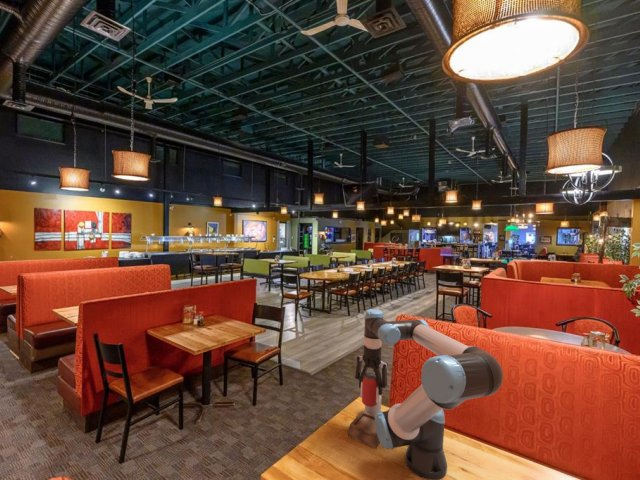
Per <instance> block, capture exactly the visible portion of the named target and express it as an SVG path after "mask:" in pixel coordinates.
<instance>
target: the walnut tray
mask: <svg viewBox="0 0 640 480" xmlns="http://www.w3.org/2000/svg"><path fill="white" fill-rule="evenodd" d="M348 438H351V439H353V440H355V441H358V442H360V443H362V444H364V445H366V446H369V447H371V448H373V449H375V450H378V448H380V445H381V443H380V441H379V439H378V436H377V432H376V427H375V416H374V415H372V414H369V413H366V412H365V410H362V411H361V412H359V414H358V415H357V416H356V417H355V418H354V419H353V420H352V421H351V422H350V423H349V426H348Z"/></svg>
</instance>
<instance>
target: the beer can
mask: <svg viewBox="0 0 640 480" xmlns="http://www.w3.org/2000/svg"><path fill="white" fill-rule="evenodd" d="M377 387H378V383H377V379H376V375H375V373H372V372H366V374H365V375H364V378H363V388H362V397H361V402H362V404H363V405H364V406H365V405H366V406H369V407H373V406H376V405H377V403H376V389H377Z"/></svg>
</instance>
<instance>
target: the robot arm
mask: <svg viewBox="0 0 640 480" xmlns="http://www.w3.org/2000/svg"><path fill="white" fill-rule="evenodd" d="M364 314H365V316H364V333H363V335H364V336H363V355H361V354H359V355H357V357H356V369H355V374H354V375H355V377H354V378H355V379H356V380H358V381H359V382H358V388H359V389H360V397H361V398H362V388H363V378H364V375H365V374H366V373H368V369H369V368H370V369H373V372H374V374H375V375H376V379H377V383H378V387H377V389H376V403H378V402H379V401H380V395H381V396H382V394H383V390H384V389H385V388H386V387H387V386H388V371H387V370H388V369H387V368H388V365H389V364H388V362H384V361H382V358H381V357H382V347H383V346H382V344H383V343H384V344H386V345H389V346H394V345H396V344H397V343H398V342H399V341H408V340H409V341H410V340H412V341H414V342H415V343H417V344H418V345H421V346H422V347H424V348H425V349H427V350H428V351H430V352H431V353H433V354H435V356H433V357H430V358H428V359H427V360H426V361H425V362H424V363H423V365H422V368H421V372H422V373H421V374H420V380H421V384H420V385H419V387H417V388H416V389H415V390H414V391H413V392H412V393H410V395H408V397H407V398H405V400H404V401H403V402H402V403H401V402H400V403H394V404H393V405H392V406H390V408H389V409H388V410H385V411H383V410H381V412H379V413H377V414H376V416H375V427H376V432H377V436H378V439H379V441H380V443H381V444H380V445H381V446H382V448H384V449H386V450H390V449H391V450H394V449H397V448H401V447H406V446H407V448H406V450H405V455H404V462H405V464H406V466H407V468H408V469H409V470H410V471H411V472H412V473H413V474H415V475H416V476H418V477H421V478H422V479H426V480H440V479H442V478H443V479H444V477H445V476H446V475H447V473H448V472H447V471H448V462H447V460H446V459H447V458H446V454H445V452H444V437H445V436H444V435H445V423H446V421H445V411H444V410H447V411H449V410H453V409H455V408H457V407H458V406H460V405H461V404H463V403H464V402H466V401H469V400H472V399H478V398H479V399H480V398H484V397H489V396H492V395H494V394H496V393H497V392H498V391H499V390H500V388H501V387H502V385H503V381H504V371H503V369H502V366H501V364H500V362H499V361H498V359H496V357H494V355H492V354H491V353H490V352H488V351H486V350H484V349H482V348H479V347H478V346H477V345H476V346H475V345H470V346H468V345H466V344H464V343H462V342H460V341H458V340H456V339H454V338H452V337H450V336H447V335H446V334H444V333H442V332H440V331H438V330H435V329H434V328H432V327H430V325H429V324H428V323H427V321H426V320H424V319H417V318H416V319H407V320H405V319H403V320H390V321H387V320H386V319H384V313H383V310H380V309H375V308H370V309H369V308H368V309H367V310H366V311H365V313H364ZM363 363H364V366H363V369H362V365H363ZM380 367H381V368H380Z"/></svg>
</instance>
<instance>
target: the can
mask: <svg viewBox="0 0 640 480" xmlns="http://www.w3.org/2000/svg"><path fill="white" fill-rule="evenodd" d="M381 411H382V394H381V395H380V401H379V402H378V403H377V405H376V406H373V407H369V406H366V405H364V412H366V413H369V414H372V415H374V416H376V414H377V413H379V412H381Z"/></svg>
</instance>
